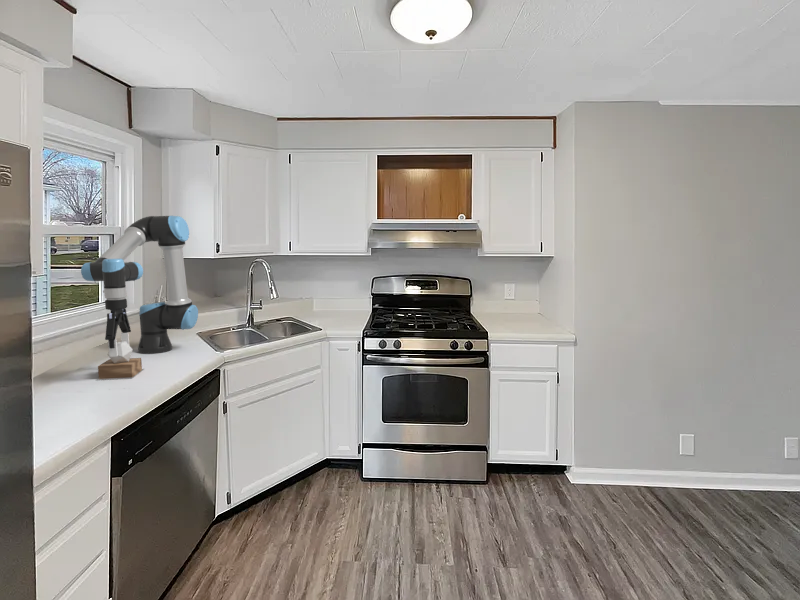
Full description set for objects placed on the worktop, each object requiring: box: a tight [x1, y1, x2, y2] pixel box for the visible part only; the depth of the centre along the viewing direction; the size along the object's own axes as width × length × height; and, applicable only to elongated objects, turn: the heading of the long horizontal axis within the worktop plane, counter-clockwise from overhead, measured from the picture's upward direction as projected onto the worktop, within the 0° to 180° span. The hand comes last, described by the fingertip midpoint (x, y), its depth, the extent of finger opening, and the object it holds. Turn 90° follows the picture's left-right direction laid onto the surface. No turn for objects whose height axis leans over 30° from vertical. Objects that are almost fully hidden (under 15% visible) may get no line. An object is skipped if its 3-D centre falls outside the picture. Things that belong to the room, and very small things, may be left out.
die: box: [107, 341, 134, 363], centre depth 214 cm, size 8×9×10 cm
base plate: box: [95, 368, 145, 382], centre depth 215 cm, size 16×13×1 cm
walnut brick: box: [97, 357, 143, 379], centre depth 215 cm, size 12×12×5 cm
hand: (119, 352), depth 214 cm, fingers open, 13 cm apart
